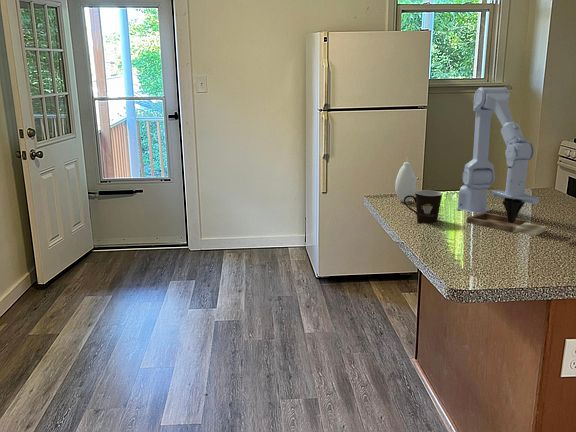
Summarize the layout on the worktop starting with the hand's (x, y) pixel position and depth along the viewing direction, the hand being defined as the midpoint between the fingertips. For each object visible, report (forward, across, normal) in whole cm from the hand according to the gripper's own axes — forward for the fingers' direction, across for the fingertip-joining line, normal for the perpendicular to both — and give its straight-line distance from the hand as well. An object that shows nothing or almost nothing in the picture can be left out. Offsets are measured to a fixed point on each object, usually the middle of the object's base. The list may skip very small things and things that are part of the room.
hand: (511, 222), depth 173 cm
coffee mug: (+2, -24, -13) cm, 28 cm away
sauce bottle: (+3, -46, +6) cm, 46 cm away
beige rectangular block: (+3, +6, 0) cm, 7 cm away
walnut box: (+2, -5, 0) cm, 5 cm away
